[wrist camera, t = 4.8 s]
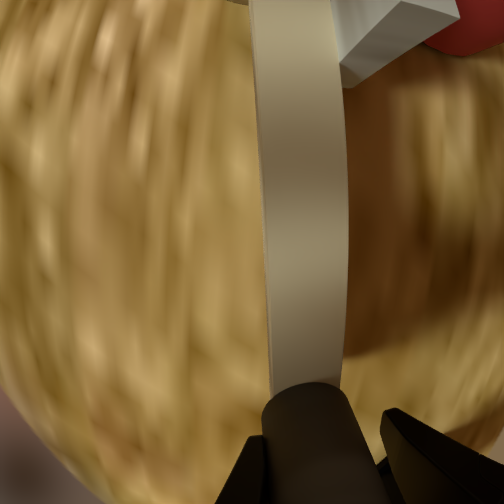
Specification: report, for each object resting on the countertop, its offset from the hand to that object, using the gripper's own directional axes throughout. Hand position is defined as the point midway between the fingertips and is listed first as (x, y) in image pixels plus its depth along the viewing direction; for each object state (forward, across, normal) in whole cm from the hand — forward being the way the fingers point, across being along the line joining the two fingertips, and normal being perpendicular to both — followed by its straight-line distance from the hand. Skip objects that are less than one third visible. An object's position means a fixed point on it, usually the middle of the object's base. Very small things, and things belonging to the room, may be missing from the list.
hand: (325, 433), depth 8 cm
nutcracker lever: (+4, 0, -9) cm, 10 cm away
